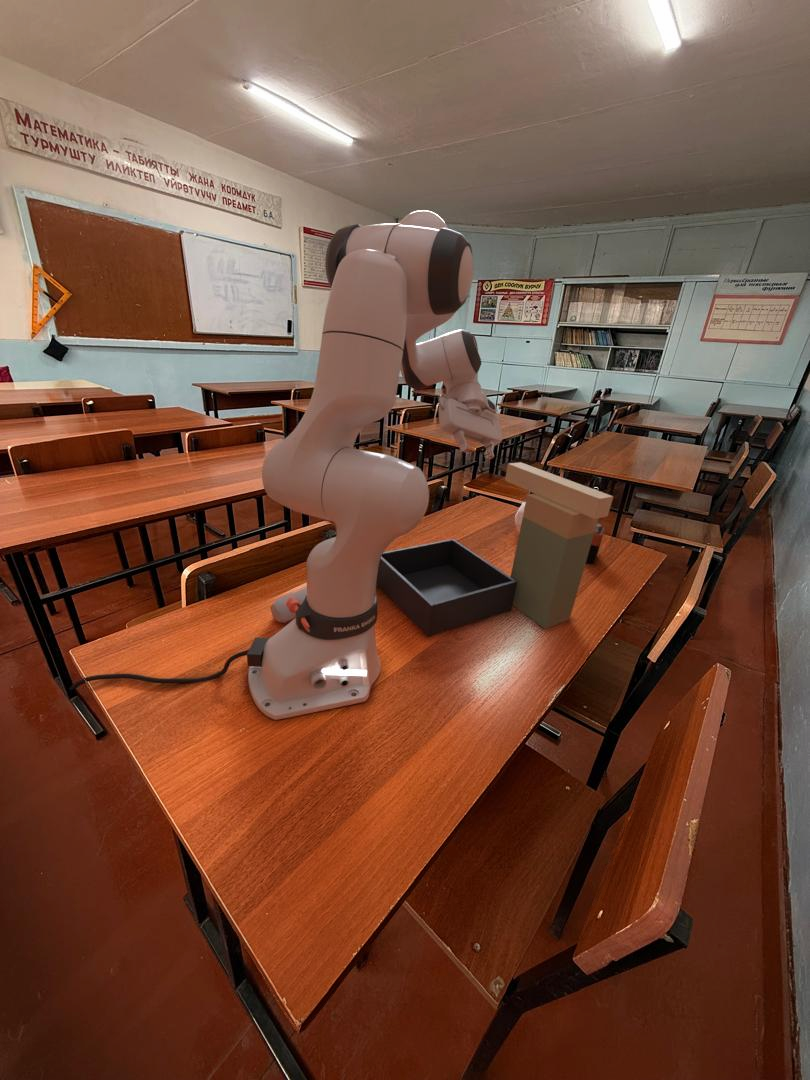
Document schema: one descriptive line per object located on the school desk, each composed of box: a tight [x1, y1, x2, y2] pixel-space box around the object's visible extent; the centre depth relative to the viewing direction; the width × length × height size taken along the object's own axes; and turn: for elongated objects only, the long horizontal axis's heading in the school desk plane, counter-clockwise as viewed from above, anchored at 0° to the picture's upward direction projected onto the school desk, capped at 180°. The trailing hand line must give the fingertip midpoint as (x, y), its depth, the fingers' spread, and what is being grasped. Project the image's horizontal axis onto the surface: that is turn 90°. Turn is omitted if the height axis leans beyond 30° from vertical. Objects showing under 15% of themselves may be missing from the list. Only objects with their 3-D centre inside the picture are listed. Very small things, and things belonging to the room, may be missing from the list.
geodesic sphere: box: [514, 501, 526, 534], centre depth 130 cm, size 15×14×14 cm
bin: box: [376, 538, 517, 638], centre depth 100 cm, size 23×24×8 cm
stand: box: [510, 493, 599, 630], centre depth 93 cm, size 8×12×26 cm, turn 31°
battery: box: [586, 523, 605, 565], centre depth 123 cm, size 4×7×10 cm, turn 150°
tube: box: [270, 587, 307, 624], centre depth 94 cm, size 5×5×25 cm
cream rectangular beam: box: [504, 461, 614, 519], centre depth 89 cm, size 4×24×4 cm, turn 31°
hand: (478, 454), depth 104 cm, fingers open, 8 cm apart
